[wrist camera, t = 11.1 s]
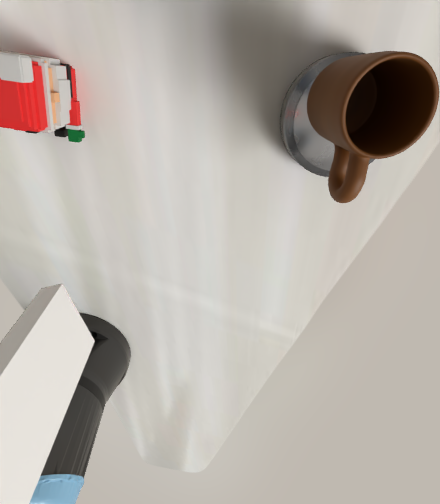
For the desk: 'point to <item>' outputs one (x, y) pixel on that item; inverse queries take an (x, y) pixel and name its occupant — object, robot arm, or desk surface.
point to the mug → (370, 112)
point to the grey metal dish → (307, 122)
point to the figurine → (39, 96)
